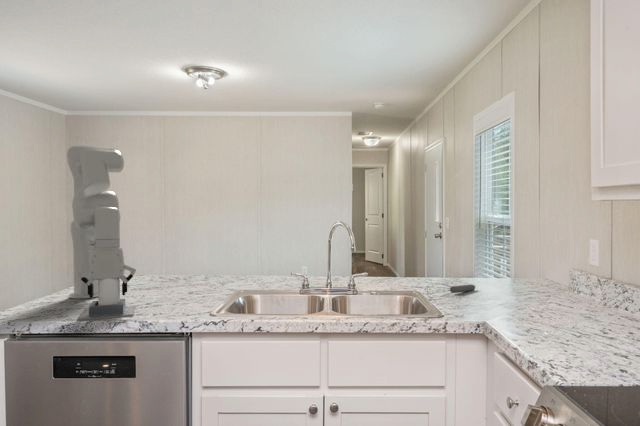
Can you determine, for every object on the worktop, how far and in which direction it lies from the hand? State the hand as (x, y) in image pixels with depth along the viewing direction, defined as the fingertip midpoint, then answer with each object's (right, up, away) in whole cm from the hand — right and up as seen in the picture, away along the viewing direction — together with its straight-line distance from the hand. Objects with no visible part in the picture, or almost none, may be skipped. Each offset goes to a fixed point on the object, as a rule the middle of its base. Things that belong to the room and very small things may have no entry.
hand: (107, 295), depth 142 cm
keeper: (0, -6, 0) cm, 6 cm away
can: (0, -5, 0) cm, 6 cm away
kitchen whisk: (+123, -5, +27) cm, 126 cm away
